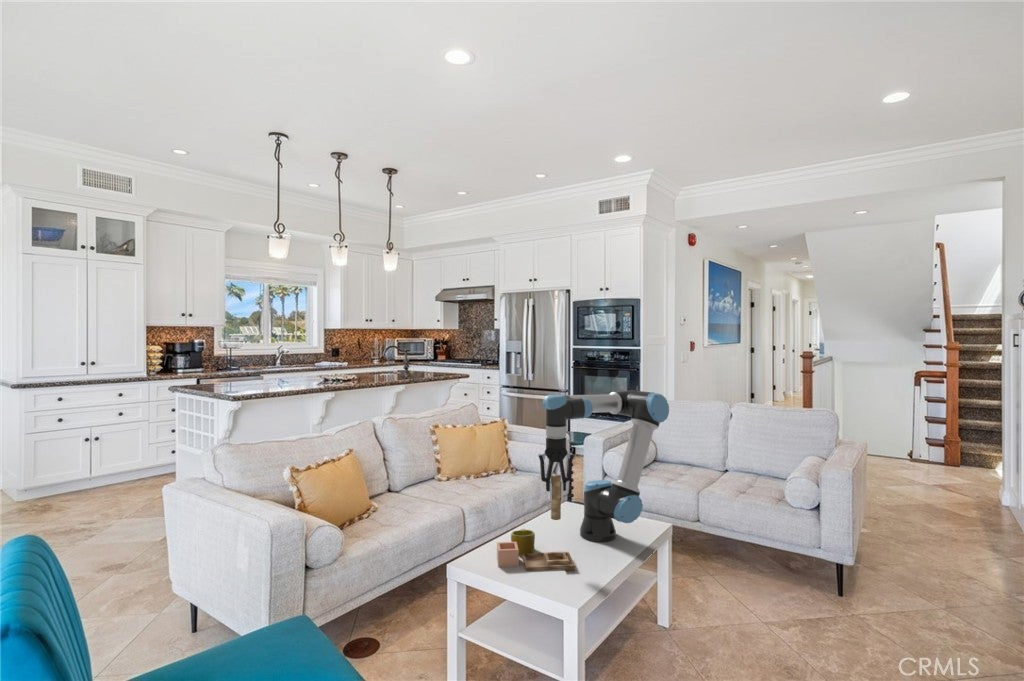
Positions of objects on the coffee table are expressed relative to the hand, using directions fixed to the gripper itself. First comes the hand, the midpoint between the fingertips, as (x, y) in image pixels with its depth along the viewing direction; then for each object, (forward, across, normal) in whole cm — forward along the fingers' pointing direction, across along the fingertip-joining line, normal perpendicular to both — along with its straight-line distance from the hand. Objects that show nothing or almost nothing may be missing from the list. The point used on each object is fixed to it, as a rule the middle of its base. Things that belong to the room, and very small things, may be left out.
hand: (555, 499), depth 200 cm
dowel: (+7, 0, 0) cm, 7 cm away
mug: (+25, +10, -14) cm, 30 cm away
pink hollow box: (+25, +18, -2) cm, 30 cm away
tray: (+25, +3, 0) cm, 25 cm away
